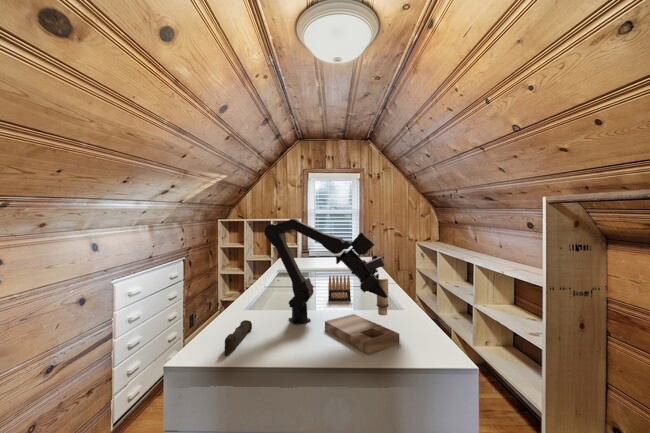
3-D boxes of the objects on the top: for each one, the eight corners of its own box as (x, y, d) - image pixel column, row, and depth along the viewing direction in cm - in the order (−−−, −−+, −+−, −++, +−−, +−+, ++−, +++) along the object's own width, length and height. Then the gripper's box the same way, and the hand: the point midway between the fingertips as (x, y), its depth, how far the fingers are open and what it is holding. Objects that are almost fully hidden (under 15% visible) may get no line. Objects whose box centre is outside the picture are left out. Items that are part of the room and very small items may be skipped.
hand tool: (241, 330, 97) (240, 317, 97) (252, 331, 97) (252, 317, 97) (215, 358, 78) (215, 341, 79) (229, 358, 78) (229, 341, 78)
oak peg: (374, 313, 100) (373, 278, 101) (382, 311, 103) (382, 277, 103) (382, 316, 97) (382, 281, 97) (391, 314, 99) (391, 279, 99)
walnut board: (324, 329, 97) (324, 321, 97) (353, 321, 104) (353, 313, 104) (368, 355, 78) (367, 344, 78) (399, 343, 86) (399, 333, 86)
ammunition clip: (328, 301, 131) (327, 275, 132) (328, 299, 133) (328, 274, 133) (350, 300, 131) (350, 275, 131) (350, 299, 133) (350, 274, 133)
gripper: (370, 251, 92) (405, 286, 89) (371, 246, 110) (400, 275, 108) (346, 274, 93) (380, 309, 91) (352, 265, 111) (380, 294, 109)
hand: (386, 295), depth 100 cm, fingers closed on oak peg, 4 cm apart
